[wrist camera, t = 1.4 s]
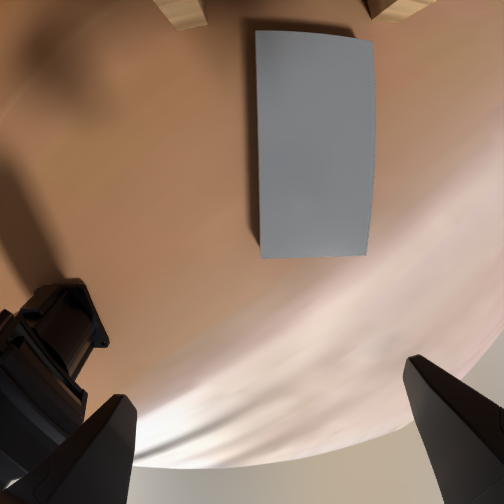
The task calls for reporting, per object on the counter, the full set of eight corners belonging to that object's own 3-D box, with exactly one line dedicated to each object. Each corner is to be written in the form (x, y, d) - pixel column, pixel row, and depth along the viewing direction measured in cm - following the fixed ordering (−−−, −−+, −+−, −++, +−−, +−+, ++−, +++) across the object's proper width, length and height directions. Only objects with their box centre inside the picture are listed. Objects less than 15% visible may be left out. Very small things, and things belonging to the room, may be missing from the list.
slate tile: (354, 242, 21) (366, 255, 18) (259, 244, 21) (260, 258, 18) (358, 49, 15) (372, 41, 13) (254, 42, 15) (255, 30, 13)
